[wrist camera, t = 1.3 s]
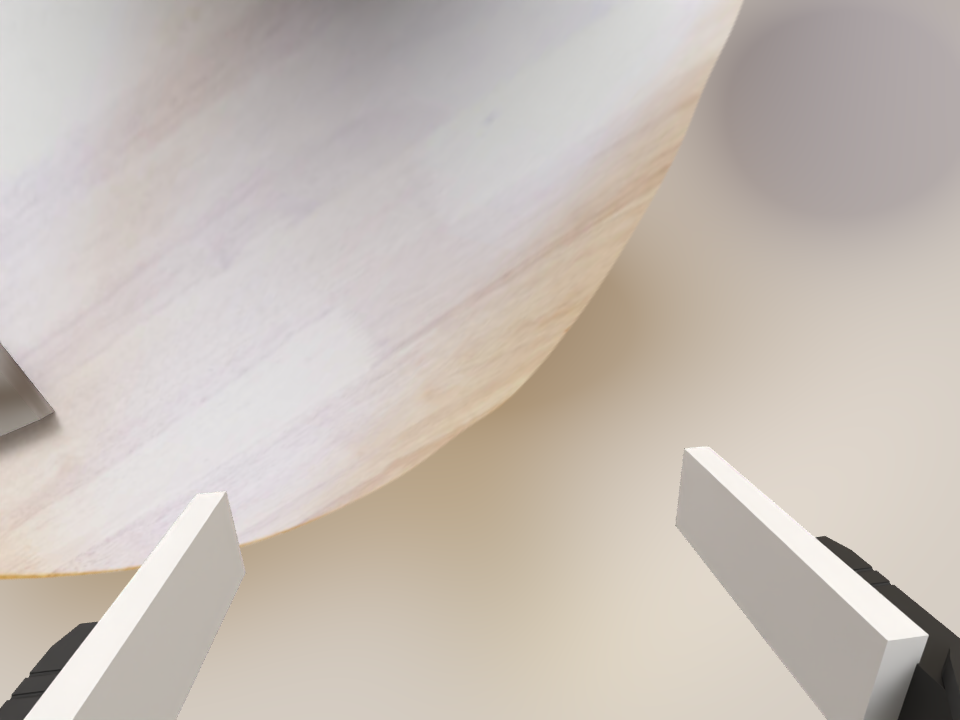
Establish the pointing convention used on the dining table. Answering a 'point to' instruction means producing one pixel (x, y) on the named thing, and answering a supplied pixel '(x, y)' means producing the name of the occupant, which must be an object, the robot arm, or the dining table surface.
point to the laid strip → (18, 397)
